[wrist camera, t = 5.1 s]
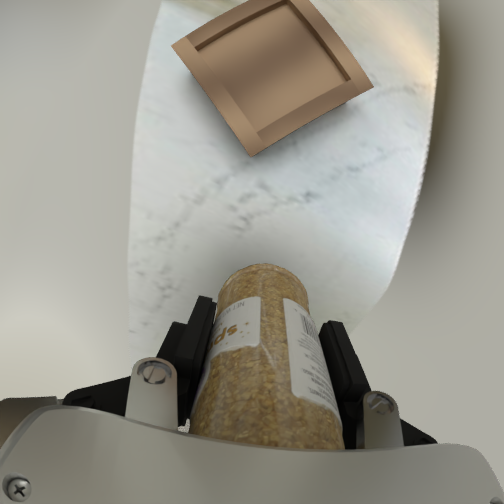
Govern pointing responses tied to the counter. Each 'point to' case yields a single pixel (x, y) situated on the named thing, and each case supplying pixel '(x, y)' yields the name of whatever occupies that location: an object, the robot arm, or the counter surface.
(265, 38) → the wooden box
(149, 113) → the counter surface
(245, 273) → the sprinkles bottle
